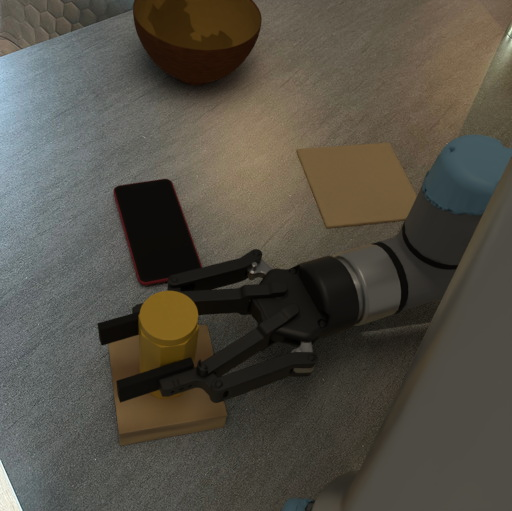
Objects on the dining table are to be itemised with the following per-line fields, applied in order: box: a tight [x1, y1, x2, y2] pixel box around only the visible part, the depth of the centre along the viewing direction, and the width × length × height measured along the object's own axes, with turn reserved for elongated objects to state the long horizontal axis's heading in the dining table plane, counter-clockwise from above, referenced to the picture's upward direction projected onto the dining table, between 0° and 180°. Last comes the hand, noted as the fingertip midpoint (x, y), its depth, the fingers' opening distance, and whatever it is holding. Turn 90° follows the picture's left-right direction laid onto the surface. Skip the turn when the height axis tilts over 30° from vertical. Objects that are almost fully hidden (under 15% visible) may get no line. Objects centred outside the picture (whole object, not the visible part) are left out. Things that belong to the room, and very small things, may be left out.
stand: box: [107, 323, 228, 447], centre depth 59 cm, size 10×10×8 cm
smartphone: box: [112, 178, 203, 286], centre depth 74 cm, size 7×1×15 cm
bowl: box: [132, 0, 263, 86], centre depth 90 cm, size 18×18×10 cm
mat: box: [295, 142, 418, 229], centre depth 84 cm, size 14×14×1 cm
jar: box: [138, 290, 200, 399], centre depth 56 cm, size 5×5×11 cm
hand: (109, 362), depth 54 cm, fingers closed on jar, 5 cm apart
